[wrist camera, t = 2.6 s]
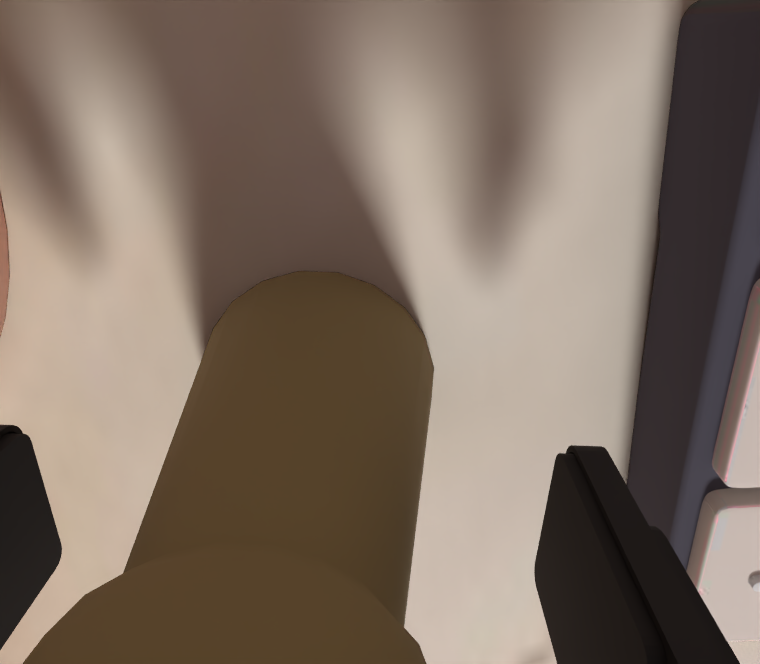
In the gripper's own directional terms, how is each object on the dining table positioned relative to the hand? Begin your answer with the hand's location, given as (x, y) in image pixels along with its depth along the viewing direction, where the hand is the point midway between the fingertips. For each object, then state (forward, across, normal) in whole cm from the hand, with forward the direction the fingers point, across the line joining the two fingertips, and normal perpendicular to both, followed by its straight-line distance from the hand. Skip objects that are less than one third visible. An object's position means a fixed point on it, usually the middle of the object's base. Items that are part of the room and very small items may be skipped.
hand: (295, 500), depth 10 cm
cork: (+5, 0, 0) cm, 5 cm away
